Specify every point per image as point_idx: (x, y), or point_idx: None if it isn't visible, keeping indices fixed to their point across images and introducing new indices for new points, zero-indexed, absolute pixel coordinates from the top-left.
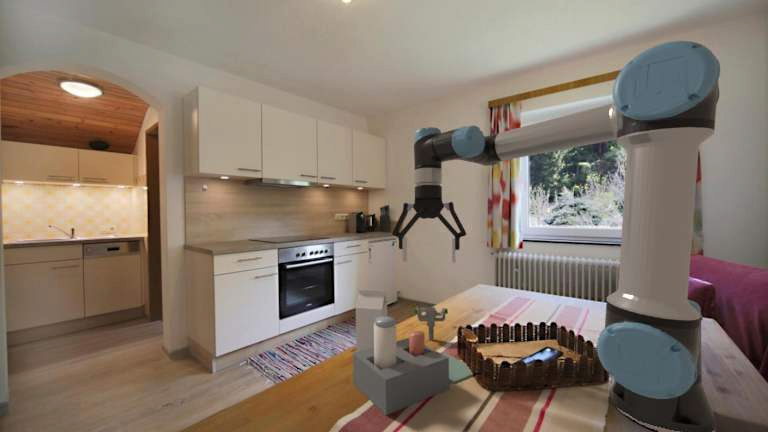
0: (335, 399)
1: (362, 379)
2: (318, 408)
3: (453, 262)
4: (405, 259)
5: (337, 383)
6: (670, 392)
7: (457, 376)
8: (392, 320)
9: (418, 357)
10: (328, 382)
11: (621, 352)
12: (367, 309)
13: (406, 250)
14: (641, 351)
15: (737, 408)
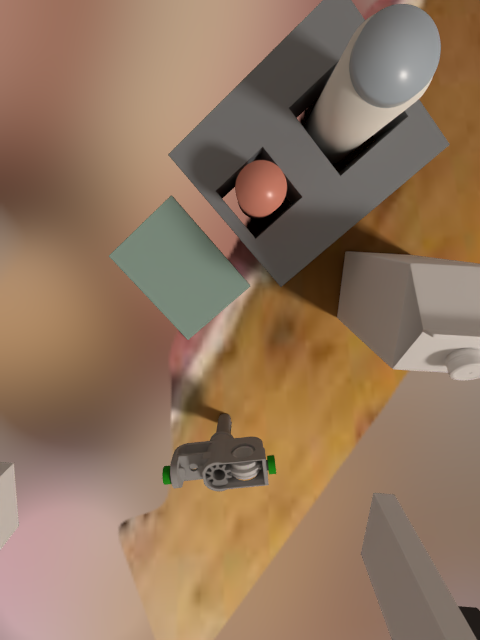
0: (441, 85)
1: None
2: (474, 41)
3: (5, 462)
4: (377, 510)
5: (447, 156)
6: None
7: (161, 220)
8: (364, 46)
9: (253, 142)
10: (470, 158)
11: None
12: (470, 266)
13: (394, 626)
14: None
15: None
